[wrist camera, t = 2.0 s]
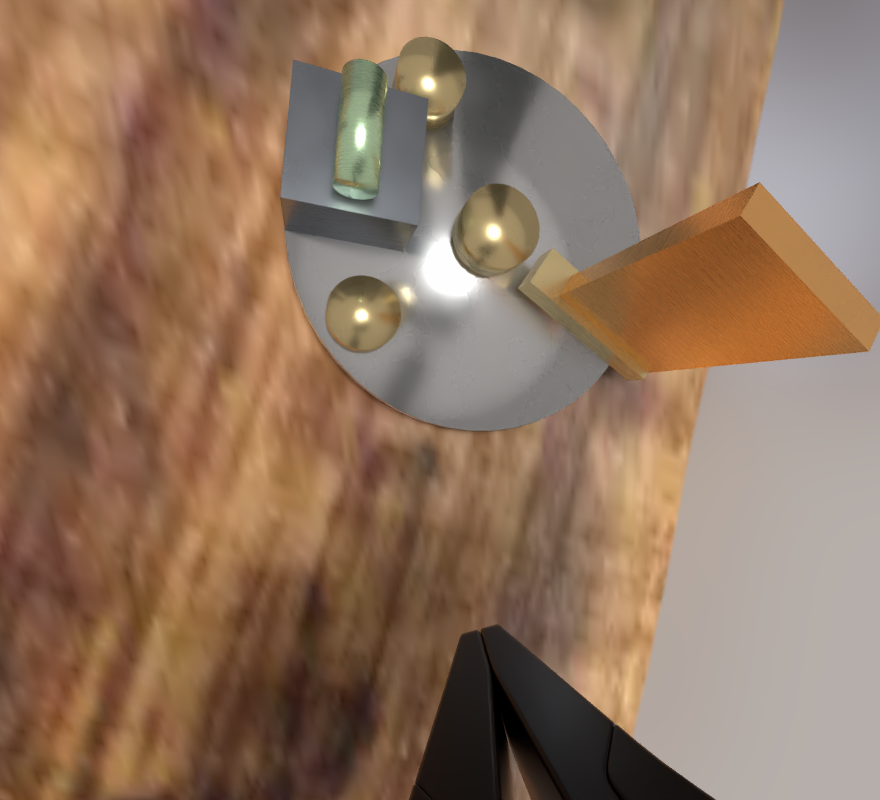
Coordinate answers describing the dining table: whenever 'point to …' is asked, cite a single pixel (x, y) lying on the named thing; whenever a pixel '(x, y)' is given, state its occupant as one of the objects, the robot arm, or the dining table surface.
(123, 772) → the dining table surface
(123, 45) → the dining table surface
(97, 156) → the dining table surface
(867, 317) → the lever
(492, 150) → the levelling plate
